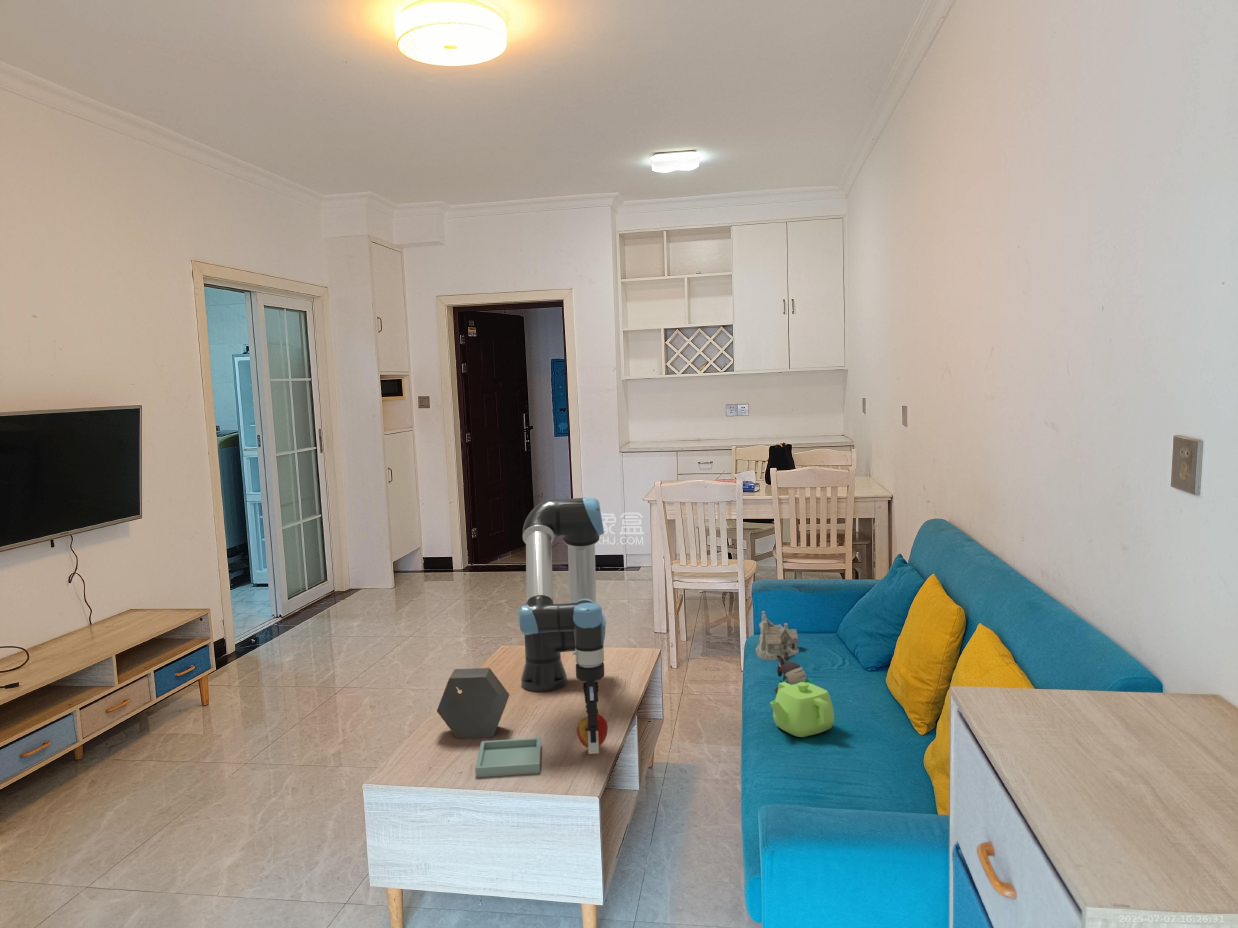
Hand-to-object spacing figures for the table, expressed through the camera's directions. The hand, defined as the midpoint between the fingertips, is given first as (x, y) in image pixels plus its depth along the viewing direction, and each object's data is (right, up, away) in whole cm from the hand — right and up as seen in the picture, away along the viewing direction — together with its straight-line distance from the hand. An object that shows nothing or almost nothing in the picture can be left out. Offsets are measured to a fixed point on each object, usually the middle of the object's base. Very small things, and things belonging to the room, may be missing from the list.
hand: (593, 745), depth 215 cm
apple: (0, -1, 0) cm, 1 cm away
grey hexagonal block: (-34, -2, +15) cm, 37 cm away
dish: (-22, -3, -4) cm, 22 cm away
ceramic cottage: (+64, +7, +75) cm, 99 cm away
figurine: (+62, +3, +37) cm, 72 cm away
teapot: (+57, +1, +9) cm, 57 cm away
